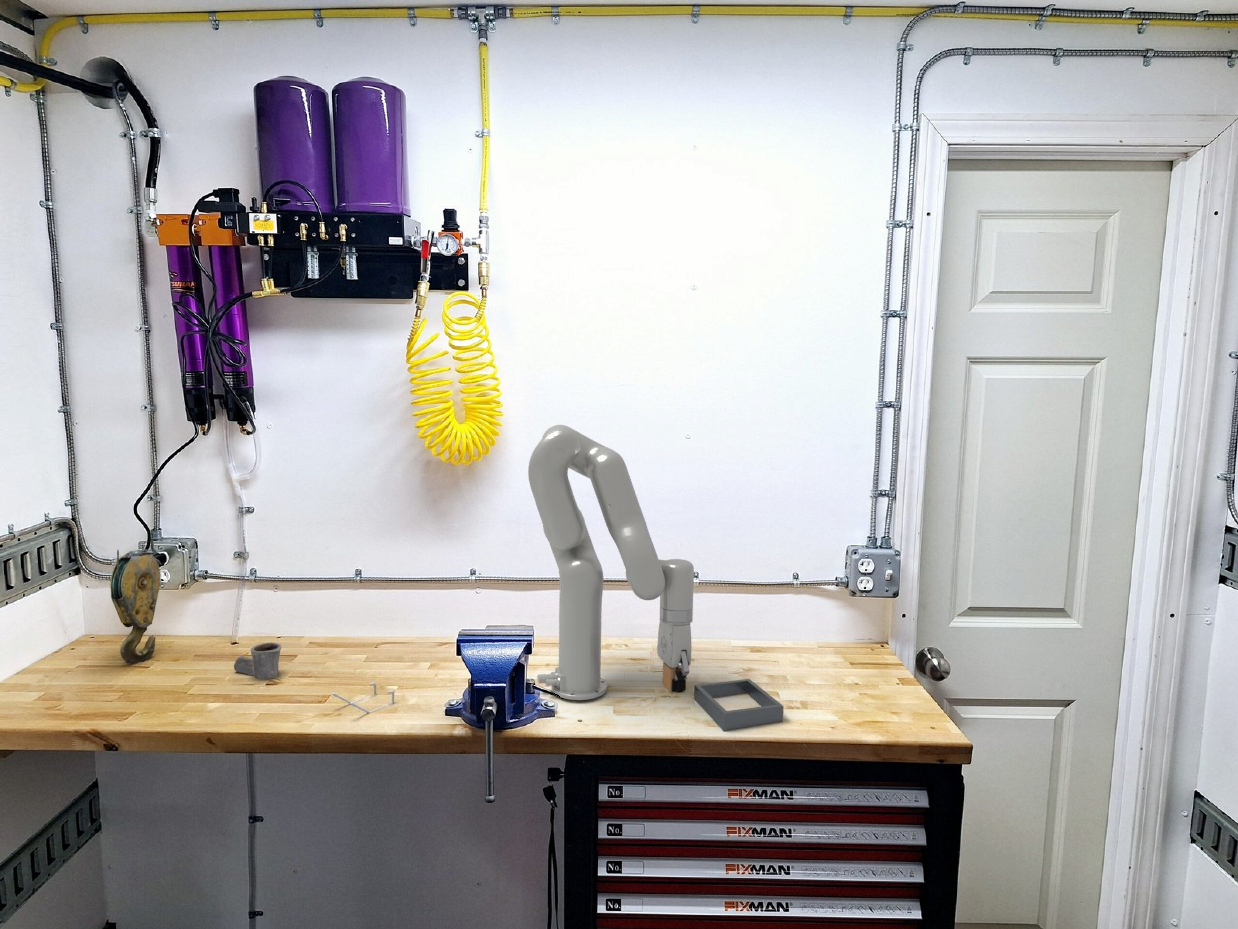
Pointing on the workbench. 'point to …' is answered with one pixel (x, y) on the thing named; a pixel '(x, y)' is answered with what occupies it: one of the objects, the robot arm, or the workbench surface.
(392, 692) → the wall mount rack
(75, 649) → the workbench surface
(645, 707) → the workbench surface
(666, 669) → the tan stepped block
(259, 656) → the pipe
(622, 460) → the robot arm
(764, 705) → the well box
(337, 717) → the workbench surface
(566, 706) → the workbench surface
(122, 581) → the pulley block
